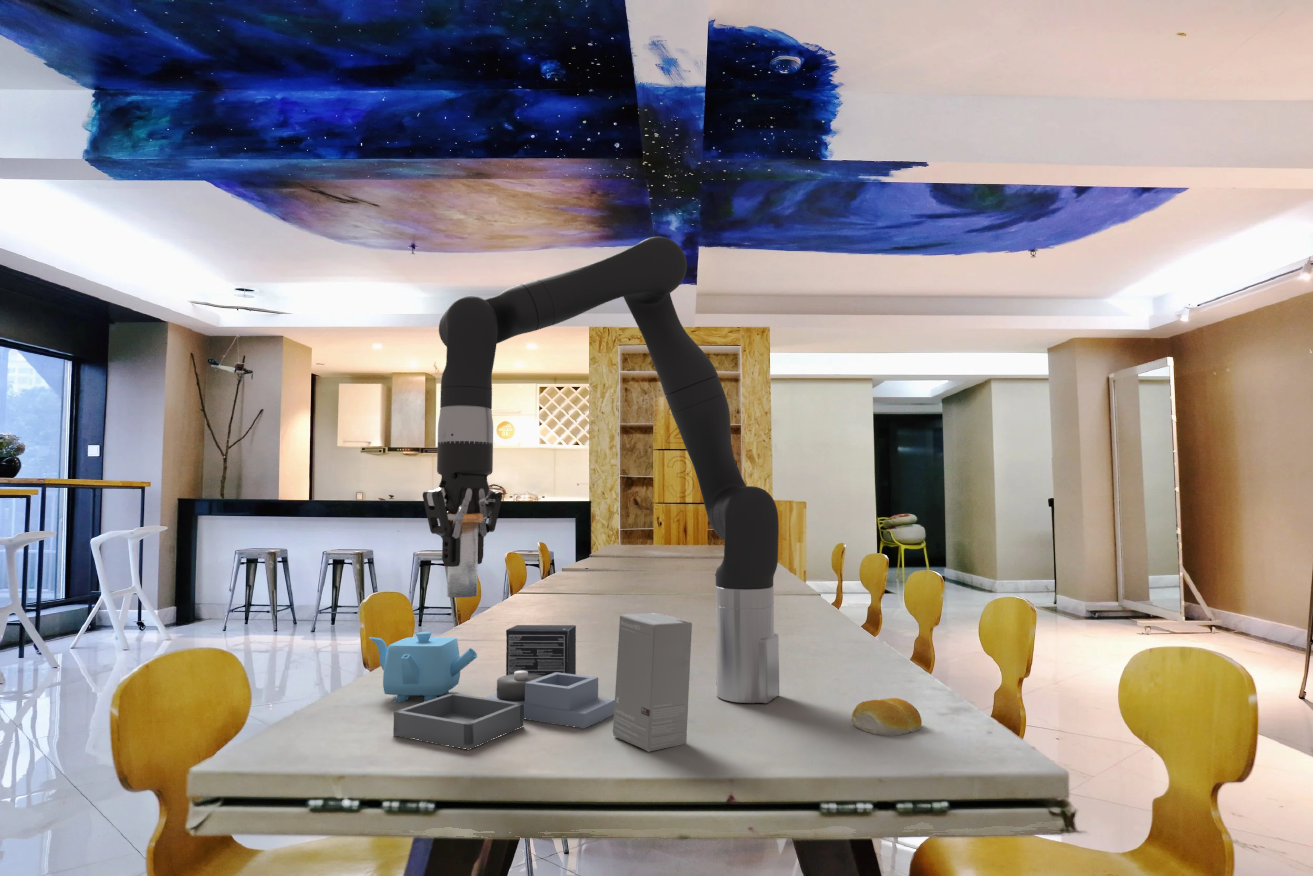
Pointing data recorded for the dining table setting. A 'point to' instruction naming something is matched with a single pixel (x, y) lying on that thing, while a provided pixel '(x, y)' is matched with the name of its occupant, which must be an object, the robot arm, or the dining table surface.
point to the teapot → (421, 665)
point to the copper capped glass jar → (465, 559)
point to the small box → (541, 649)
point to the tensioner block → (556, 697)
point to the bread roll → (886, 717)
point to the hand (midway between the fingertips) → (463, 564)
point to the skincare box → (652, 680)
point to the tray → (458, 720)
